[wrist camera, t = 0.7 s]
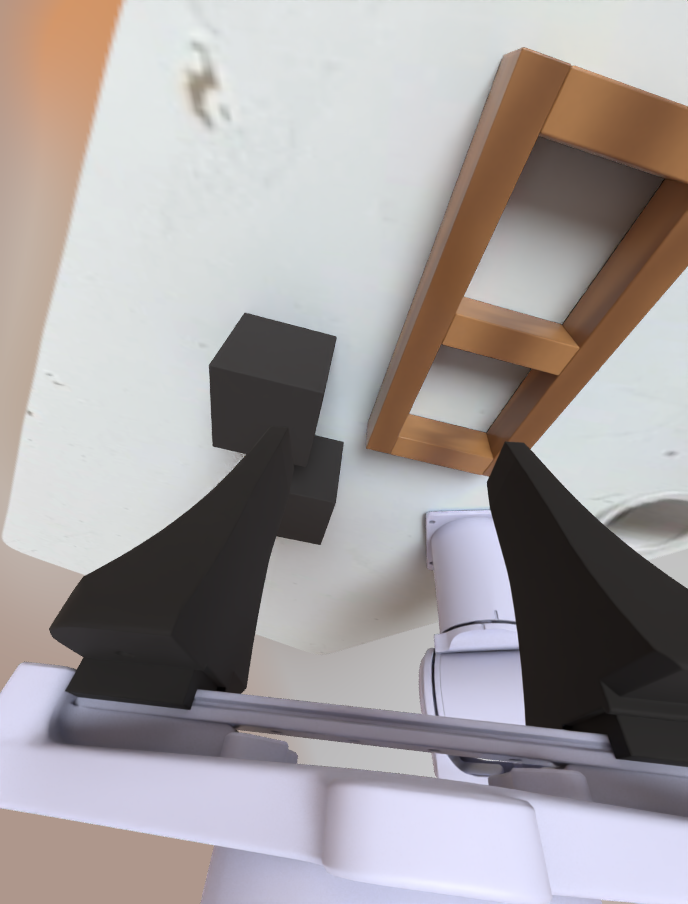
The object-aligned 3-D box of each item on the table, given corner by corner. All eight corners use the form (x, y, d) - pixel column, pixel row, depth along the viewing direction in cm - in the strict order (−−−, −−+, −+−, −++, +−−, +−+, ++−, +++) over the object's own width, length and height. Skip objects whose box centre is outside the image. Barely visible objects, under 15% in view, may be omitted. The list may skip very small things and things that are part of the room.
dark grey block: (343, 441, 26) (335, 502, 22) (329, 486, 29) (320, 545, 25) (272, 425, 25) (250, 484, 21) (266, 472, 29) (247, 530, 25)
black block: (336, 336, 20) (324, 393, 16) (320, 407, 24) (306, 467, 20) (244, 311, 20) (208, 364, 16) (241, 388, 23) (212, 446, 19)
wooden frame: (739, 138, 13) (794, 144, 11) (495, 453, 25) (503, 480, 23) (503, 54, 12) (522, 46, 10) (367, 423, 24) (365, 448, 22)
